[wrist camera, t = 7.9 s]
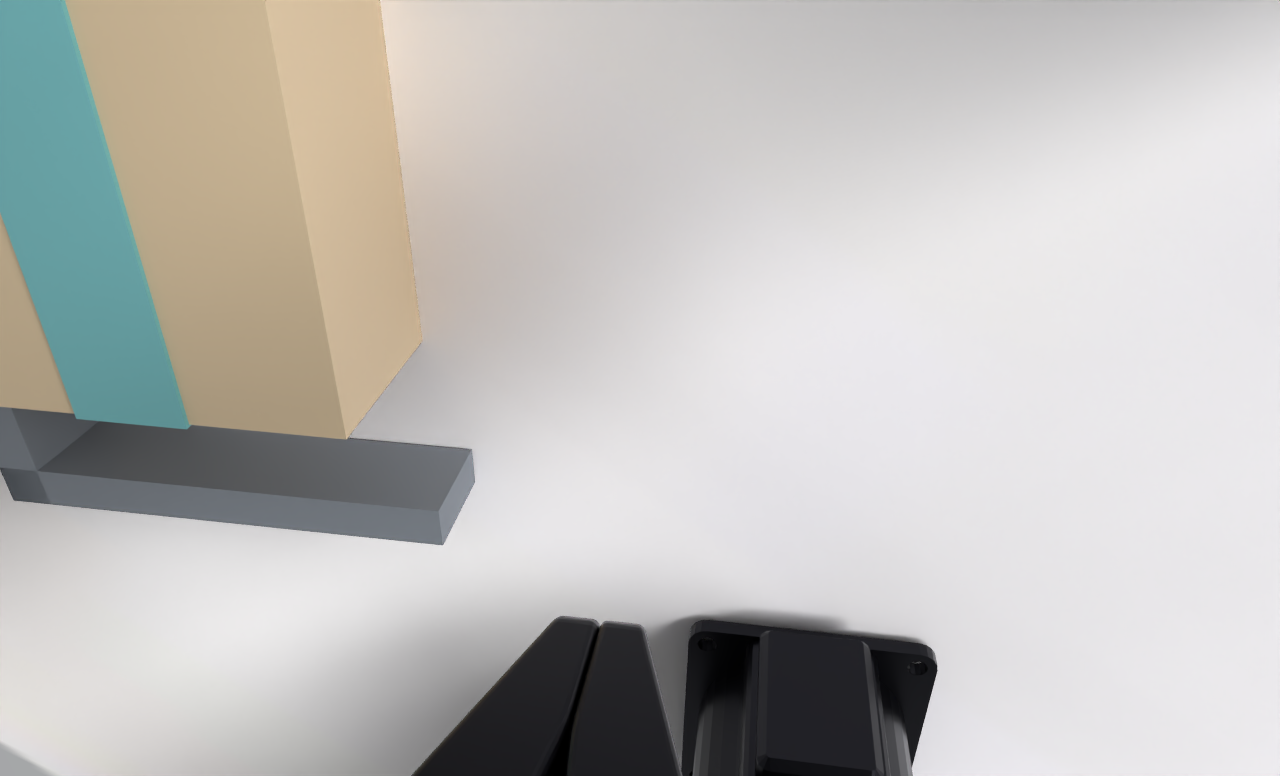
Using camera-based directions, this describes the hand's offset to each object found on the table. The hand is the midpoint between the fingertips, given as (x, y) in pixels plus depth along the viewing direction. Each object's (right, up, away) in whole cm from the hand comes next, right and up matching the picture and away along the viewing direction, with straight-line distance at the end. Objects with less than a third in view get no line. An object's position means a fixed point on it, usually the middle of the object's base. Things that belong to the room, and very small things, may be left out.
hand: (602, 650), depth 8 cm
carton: (-9, +8, +11) cm, 16 cm away
